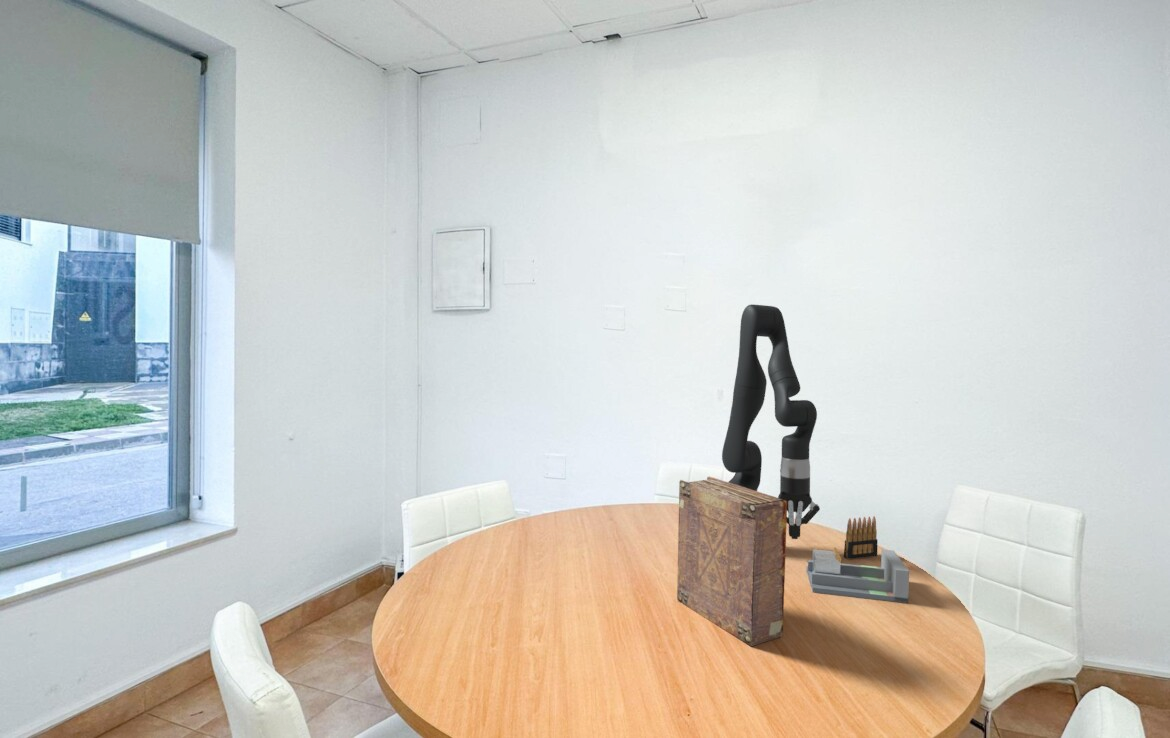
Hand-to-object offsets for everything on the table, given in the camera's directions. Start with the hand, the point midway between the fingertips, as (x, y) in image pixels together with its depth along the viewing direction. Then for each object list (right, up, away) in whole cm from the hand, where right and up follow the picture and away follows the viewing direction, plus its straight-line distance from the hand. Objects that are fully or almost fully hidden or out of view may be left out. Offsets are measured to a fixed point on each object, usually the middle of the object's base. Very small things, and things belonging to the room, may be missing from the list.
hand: (794, 538), depth 157 cm
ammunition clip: (+27, -11, +18) cm, 34 cm away
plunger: (+8, -10, -2) cm, 13 cm away
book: (-24, -12, -22) cm, 35 cm away
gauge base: (+15, -12, -3) cm, 19 cm away
